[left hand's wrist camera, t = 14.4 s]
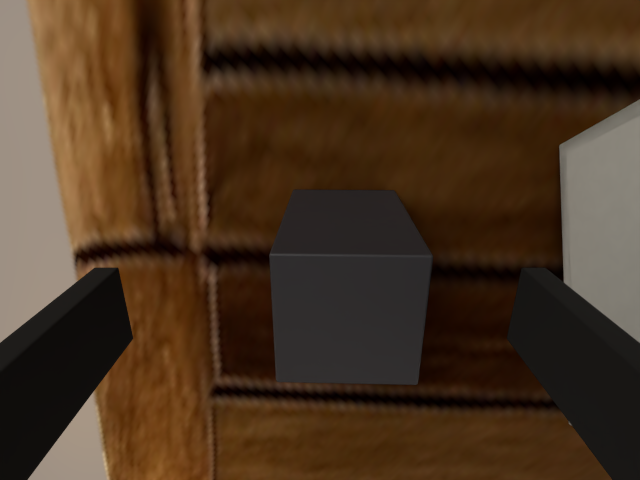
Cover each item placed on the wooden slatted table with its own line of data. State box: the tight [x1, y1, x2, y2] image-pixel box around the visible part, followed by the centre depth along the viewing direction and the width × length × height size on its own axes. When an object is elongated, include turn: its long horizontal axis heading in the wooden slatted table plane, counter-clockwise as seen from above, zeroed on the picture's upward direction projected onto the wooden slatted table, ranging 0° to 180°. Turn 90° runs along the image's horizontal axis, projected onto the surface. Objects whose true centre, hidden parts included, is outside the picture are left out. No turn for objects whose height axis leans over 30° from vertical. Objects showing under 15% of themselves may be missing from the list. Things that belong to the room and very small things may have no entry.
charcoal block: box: [269, 190, 433, 385], centre depth 15 cm, size 4×4×7 cm
